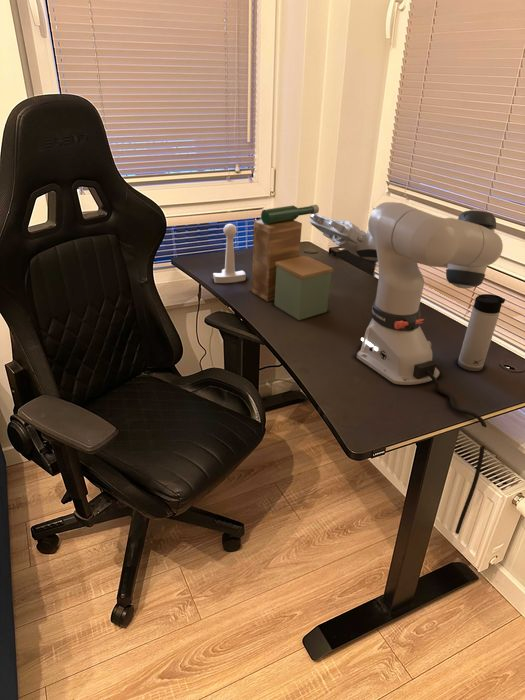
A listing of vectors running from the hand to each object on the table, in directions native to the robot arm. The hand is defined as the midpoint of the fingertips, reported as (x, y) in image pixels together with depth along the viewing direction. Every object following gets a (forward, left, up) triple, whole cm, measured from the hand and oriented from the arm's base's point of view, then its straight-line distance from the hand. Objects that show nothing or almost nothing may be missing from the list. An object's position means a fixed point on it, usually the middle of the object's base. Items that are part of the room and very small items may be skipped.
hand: (321, 219), depth 167 cm
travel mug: (-63, -15, -23) cm, 68 cm away
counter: (-18, +14, -23) cm, 32 cm away
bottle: (-3, +12, +2) cm, 13 cm away
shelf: (-5, +18, -23) cm, 29 cm away
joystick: (+11, +29, -23) cm, 38 cm away
